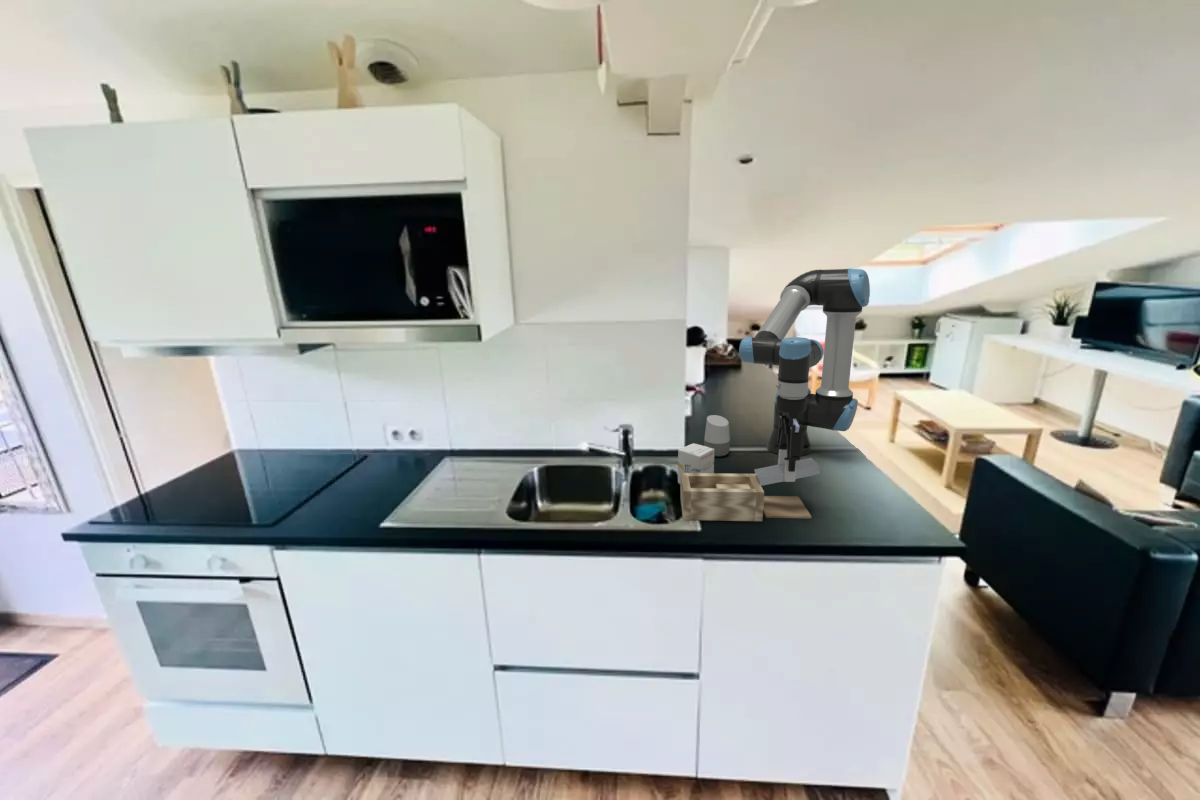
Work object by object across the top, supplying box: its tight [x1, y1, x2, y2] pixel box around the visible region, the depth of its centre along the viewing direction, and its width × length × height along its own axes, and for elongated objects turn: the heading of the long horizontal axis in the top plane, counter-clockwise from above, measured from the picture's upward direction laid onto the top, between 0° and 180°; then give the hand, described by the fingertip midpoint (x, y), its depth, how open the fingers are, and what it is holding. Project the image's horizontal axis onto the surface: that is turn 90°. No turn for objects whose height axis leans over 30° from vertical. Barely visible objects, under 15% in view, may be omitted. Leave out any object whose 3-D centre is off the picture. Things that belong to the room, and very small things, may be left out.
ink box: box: [677, 443, 715, 485], centre depth 154 cm, size 9×8×12 cm
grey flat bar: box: [754, 457, 821, 487], centre depth 135 cm, size 16×6×2 cm, turn 84°
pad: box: [763, 495, 812, 519], centre depth 138 cm, size 12×12×1 cm
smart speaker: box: [703, 414, 731, 458], centre depth 177 cm, size 10×9×14 cm
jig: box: [680, 472, 765, 522], centre depth 137 cm, size 21×12×9 cm, turn 85°
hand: (786, 475), depth 135 cm, fingers closed on grey flat bar, 6 cm apart
